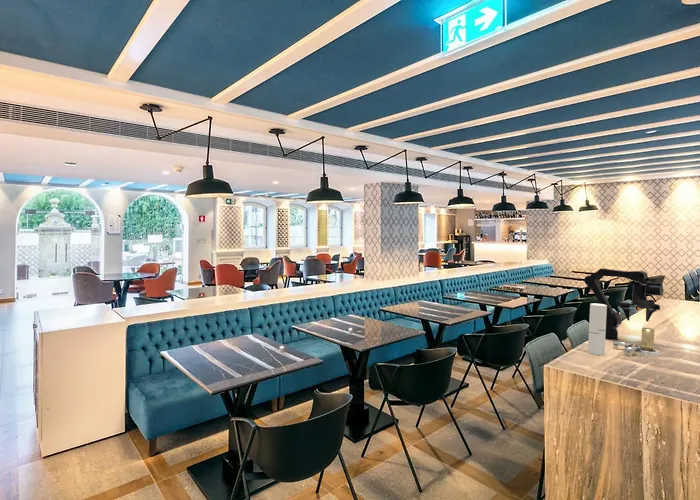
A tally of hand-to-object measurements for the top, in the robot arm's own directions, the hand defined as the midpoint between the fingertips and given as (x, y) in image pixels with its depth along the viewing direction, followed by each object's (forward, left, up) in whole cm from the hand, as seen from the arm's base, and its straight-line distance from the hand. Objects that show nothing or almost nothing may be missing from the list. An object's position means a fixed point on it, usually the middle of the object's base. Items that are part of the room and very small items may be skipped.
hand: (637, 321), depth 215 cm
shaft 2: (-13, -25, -13) cm, 31 cm away
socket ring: (-4, -20, -13) cm, 24 cm away
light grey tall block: (-30, -27, -13) cm, 42 cm away
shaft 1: (-13, -16, -13) cm, 24 cm away
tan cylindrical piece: (-4, -20, -13) cm, 24 cm away
